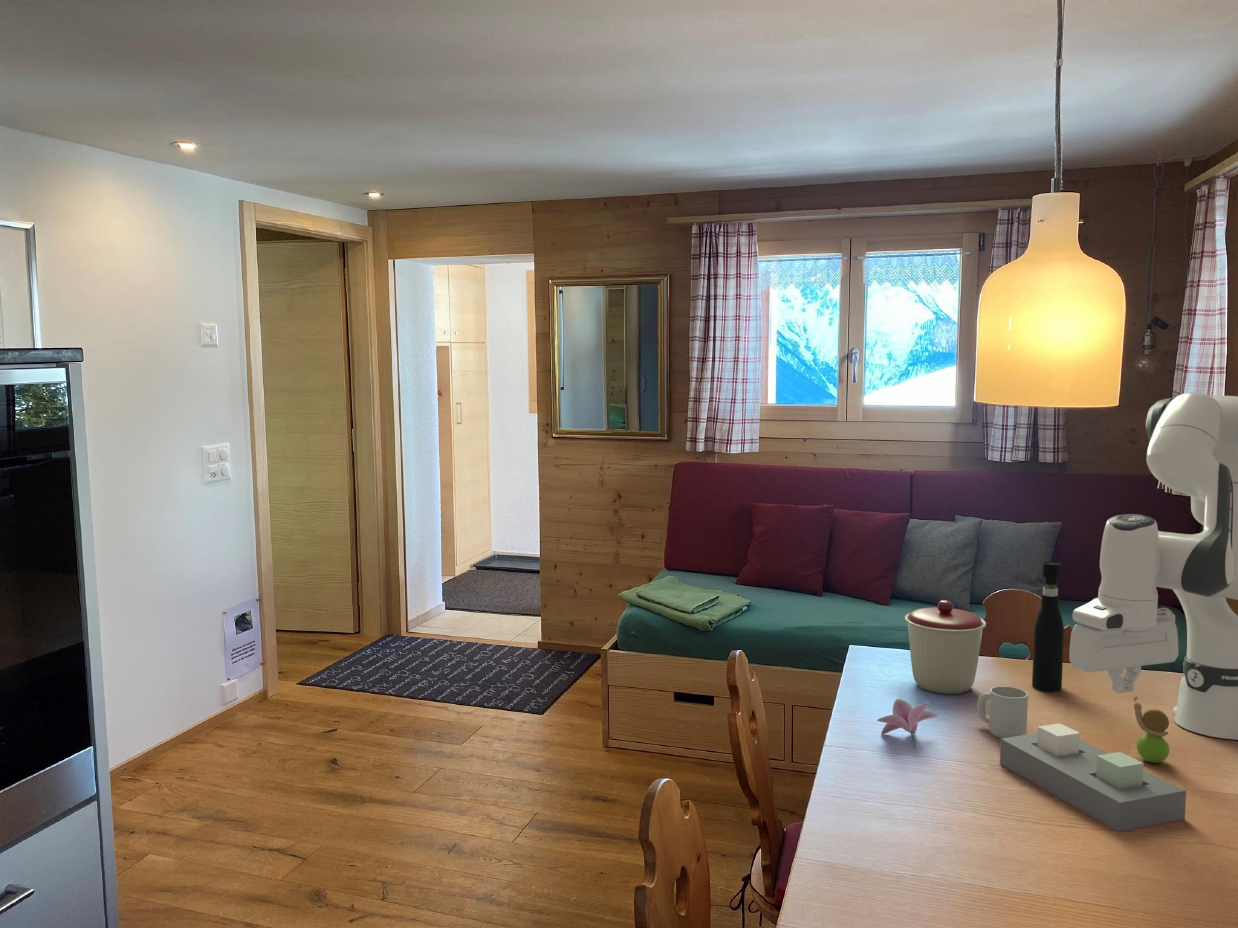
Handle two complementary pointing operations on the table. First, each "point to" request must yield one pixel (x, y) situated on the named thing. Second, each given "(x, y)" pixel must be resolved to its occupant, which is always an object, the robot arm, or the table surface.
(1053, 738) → the white key
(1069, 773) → the key console
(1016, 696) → the cup
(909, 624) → the canister
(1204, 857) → the table surface
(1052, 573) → the wine bottle
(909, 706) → the lily
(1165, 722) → the snail figurine
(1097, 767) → the pale green cube
